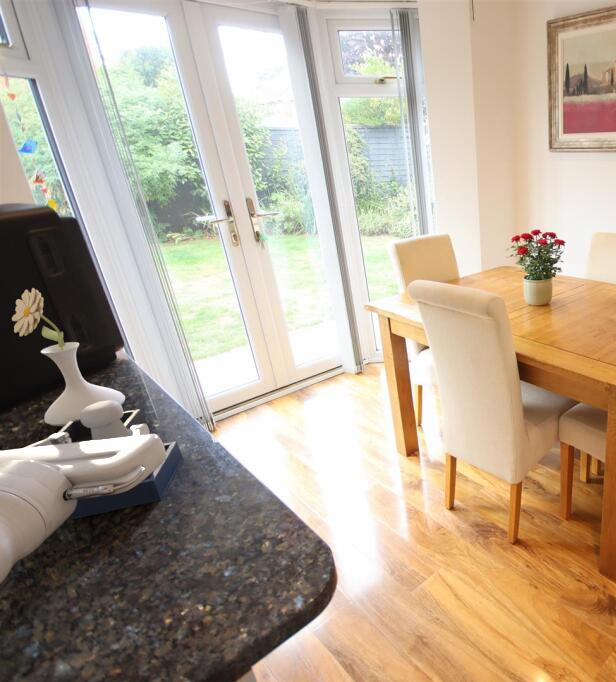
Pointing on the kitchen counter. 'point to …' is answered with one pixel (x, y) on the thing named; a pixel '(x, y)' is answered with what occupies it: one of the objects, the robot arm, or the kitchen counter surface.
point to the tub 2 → (135, 488)
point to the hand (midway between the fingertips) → (103, 433)
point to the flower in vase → (61, 364)
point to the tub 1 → (84, 433)
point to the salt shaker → (104, 420)
